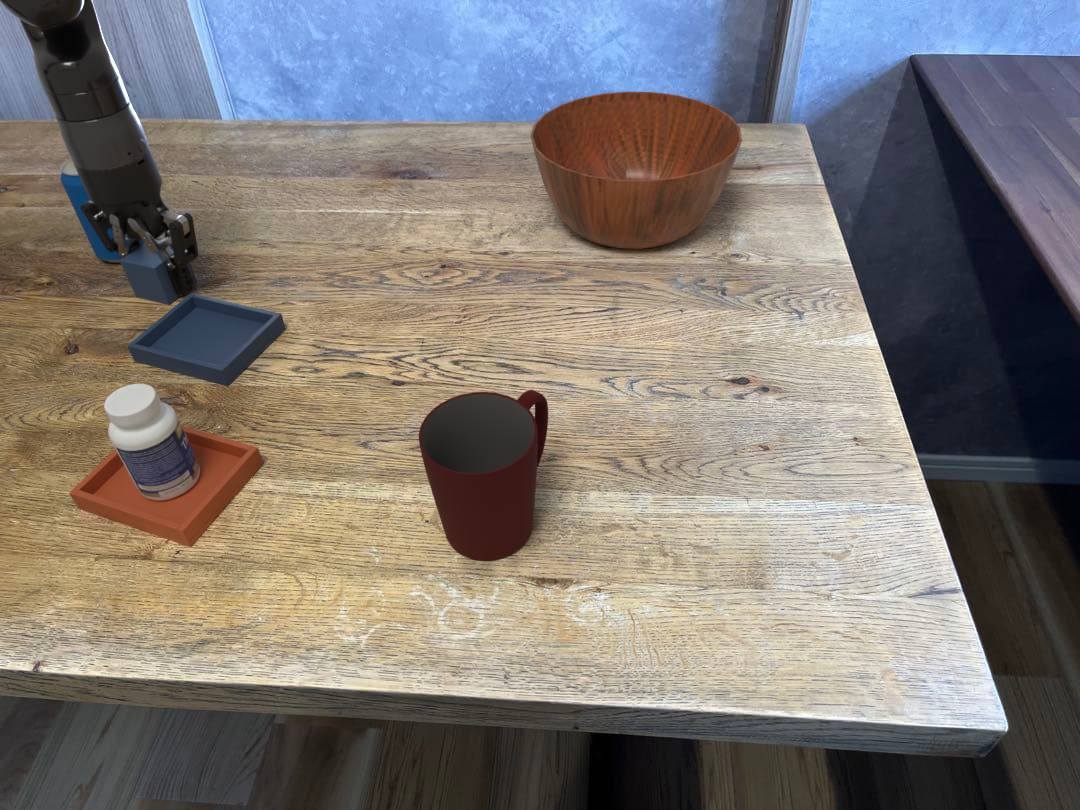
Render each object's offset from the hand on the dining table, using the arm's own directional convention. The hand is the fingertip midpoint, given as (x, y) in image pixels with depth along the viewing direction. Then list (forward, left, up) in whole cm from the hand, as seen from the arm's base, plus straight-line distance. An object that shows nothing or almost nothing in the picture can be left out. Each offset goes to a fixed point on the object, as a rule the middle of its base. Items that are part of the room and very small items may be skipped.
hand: (166, 286), depth 96 cm
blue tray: (+12, -7, 0) cm, 14 cm away
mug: (+51, -18, -1) cm, 54 cm away
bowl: (+47, +33, -1) cm, 57 cm away
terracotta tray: (+22, -25, 0) cm, 33 cm away
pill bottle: (+22, -25, 0) cm, 33 cm away
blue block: (0, 0, 0) cm, 0 cm away
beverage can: (-11, +5, -1) cm, 12 cm away
